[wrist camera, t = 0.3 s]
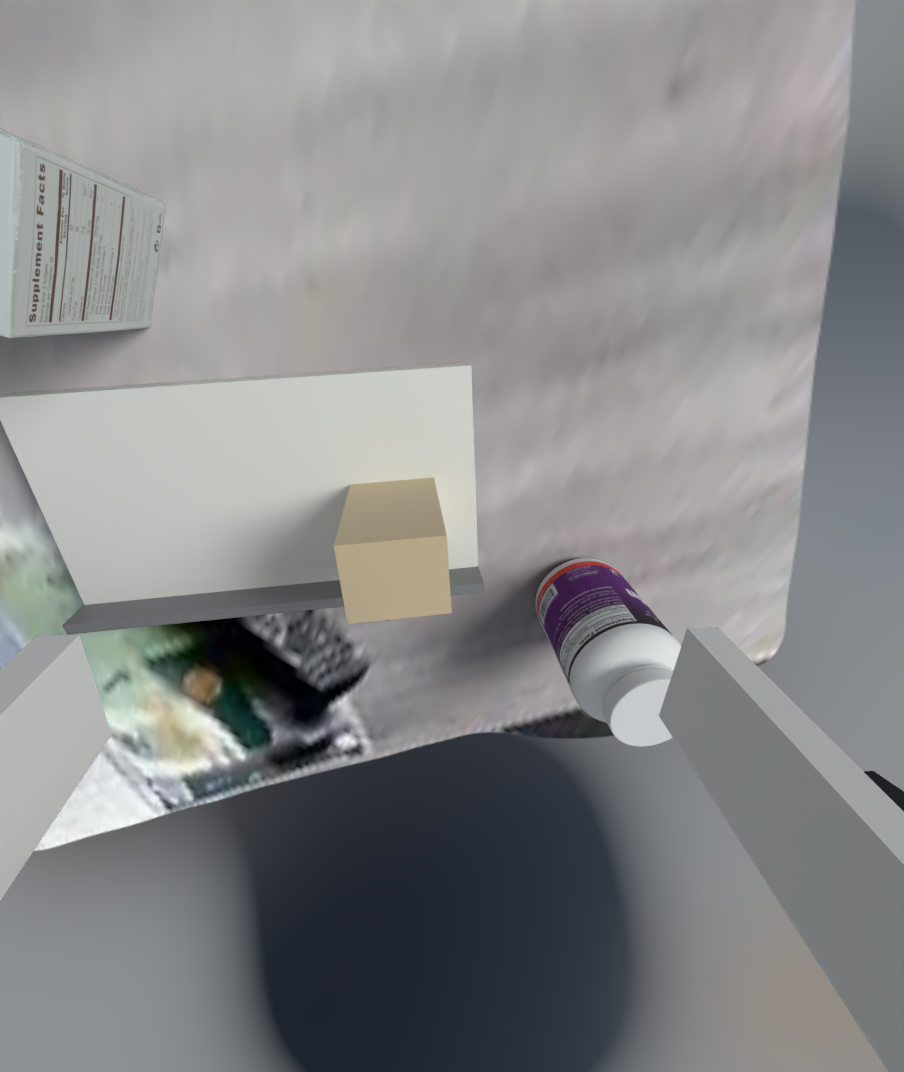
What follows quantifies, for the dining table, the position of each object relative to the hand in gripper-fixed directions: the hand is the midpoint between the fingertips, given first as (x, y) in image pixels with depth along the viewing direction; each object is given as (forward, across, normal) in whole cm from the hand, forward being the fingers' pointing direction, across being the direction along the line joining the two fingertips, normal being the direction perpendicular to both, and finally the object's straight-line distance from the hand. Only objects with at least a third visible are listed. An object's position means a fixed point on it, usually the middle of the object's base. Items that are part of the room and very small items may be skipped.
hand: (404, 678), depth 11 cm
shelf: (+27, -9, -5) cm, 29 cm away
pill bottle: (+27, +16, -14) cm, 34 cm away
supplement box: (+27, -18, +10) cm, 34 cm away
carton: (+25, 0, -6) cm, 25 cm away
